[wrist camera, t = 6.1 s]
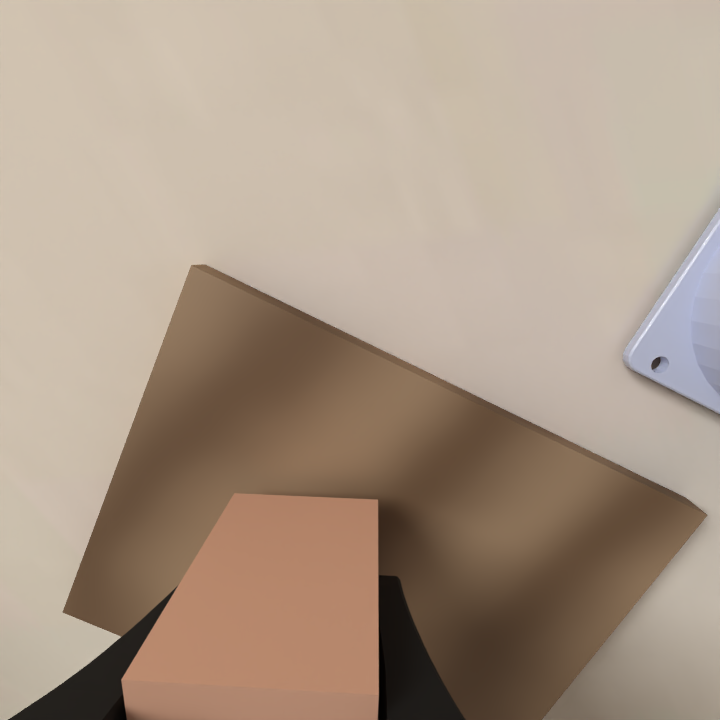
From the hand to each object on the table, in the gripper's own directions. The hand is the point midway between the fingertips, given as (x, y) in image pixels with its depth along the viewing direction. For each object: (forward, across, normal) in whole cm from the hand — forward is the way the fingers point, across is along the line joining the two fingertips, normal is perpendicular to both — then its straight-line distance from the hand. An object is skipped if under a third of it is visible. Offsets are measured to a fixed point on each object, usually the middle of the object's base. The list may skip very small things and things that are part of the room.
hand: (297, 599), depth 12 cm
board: (+3, -2, +1) cm, 4 cm away
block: (+2, 0, 0) cm, 2 cm away
